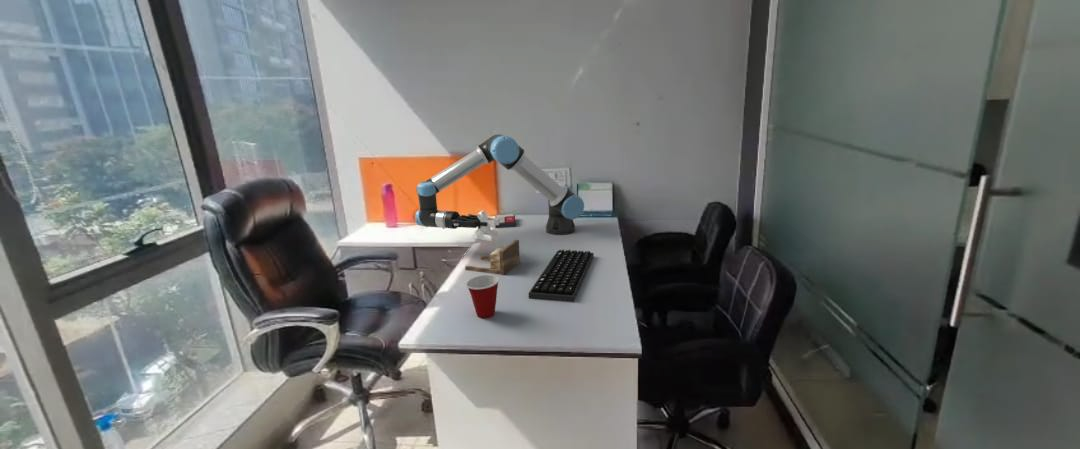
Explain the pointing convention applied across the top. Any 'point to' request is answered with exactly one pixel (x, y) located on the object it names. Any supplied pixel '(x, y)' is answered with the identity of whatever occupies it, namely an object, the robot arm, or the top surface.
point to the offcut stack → (495, 259)
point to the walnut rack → (502, 260)
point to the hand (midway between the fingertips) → (496, 223)
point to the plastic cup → (483, 294)
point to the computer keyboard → (562, 276)
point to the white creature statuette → (485, 229)
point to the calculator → (506, 221)
